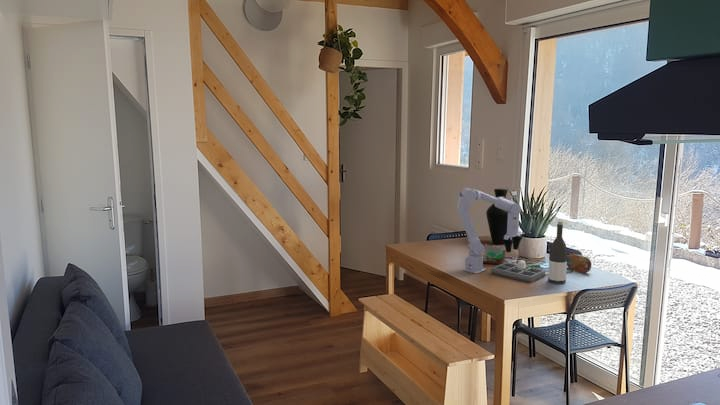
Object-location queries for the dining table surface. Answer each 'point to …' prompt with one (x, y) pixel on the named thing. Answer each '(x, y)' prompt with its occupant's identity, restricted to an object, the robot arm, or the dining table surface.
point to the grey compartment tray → (518, 272)
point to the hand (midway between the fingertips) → (511, 250)
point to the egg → (521, 265)
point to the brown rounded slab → (578, 263)
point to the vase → (497, 219)
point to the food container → (495, 254)
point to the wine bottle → (558, 258)
